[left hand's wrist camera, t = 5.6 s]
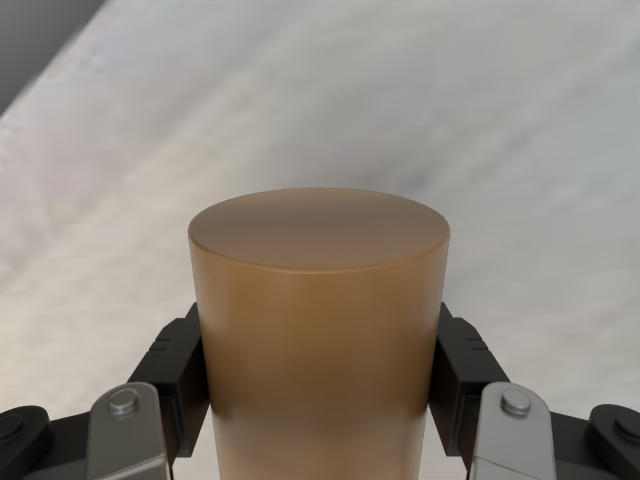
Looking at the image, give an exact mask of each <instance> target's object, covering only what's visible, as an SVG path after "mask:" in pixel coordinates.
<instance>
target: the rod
mask: <svg viewBox="0 0 640 480" xmlns="http://www.w3.org/2000/svg"><path fill="white" fill-rule="evenodd" d="M188 238H189V246H190V253H191V261H192V268H193V276H194V284H195V291H196V299H197V306H198V314H199V321H200V329H201V336H202V344H203V352H204V359H205V367H206V374H207V382H208V389H209V397H210V404H211V412H212V419H213V427H214V435H215V442H216V450H217V457H218V465H219V472H220V480H418V474H419V466H420V459H421V451H422V444H423V436H424V428H425V421H426V413H427V406H428V398H429V390H430V383H431V375H432V368H433V360H434V352H435V345H436V337H437V330H438V322H439V314H440V307H441V299H442V292H443V284H444V276H445V269H446V261H447V254H448V246H449V238H450V228H449V225H448V222H447V221H446V220H445V218H444V217H443V216H442V215H440V214H439V213H438V212H436V211H435V210H433V209H431V208H430V207H427V206H425V205H423V204H421V203H418V202H415V201H412V200H409V199H406V198H402V197H398V196H394V195H390V194H384V193H379V192H372V191H365V190H356V189H342V188H296V189H282V190H273V191H266V192H259V193H254V194H248V195H244V196H240V197H236V198H232V199H229V200H226V201H223V202H220V203H218V204H215V205H213V206H211V207H209V208H207V209H205V210H203V211H202V212H200V213H199V214H198V215H196V216H195V217H194V218H193V220H192V221H191V222H190V225H189V228H188Z"/></svg>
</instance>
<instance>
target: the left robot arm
mask: <svg viewBox="0 0 640 480" xmlns="http://www.w3.org/2000/svg"><path fill="white" fill-rule="evenodd" d="M209 405H210V397H209V389H208V382H207V374H206V367H205V359H204V352H203V344H202V336H201V329H200V321H199V314H198V306H197V302H195V303H194V304H193V305H192V307H191V309H190V310H189V312H188V314H187V315H186V317H185V318H176V319H175V320H173V321H172V322H171V323H169V324H168V325H166V326H165V327H164V328H163V329H162V330H161V332H160V333H159V335H158V336H157V338H156V339H155V342H153V344H152V345H151V347H150V348H149V351H147V353H146V354H145V356H144V357H143V359H142V360H141V362H140V363H139V365H138V366H137V368H136V369H135V371H134V372H133V374H132V375H131V377H130V378H129V380H128V381H127V383H126V384H123V385H120V386H117V387H115V388H113V389H111V390H109V391H108V392H106V393H105V394H103V395H102V396H101V397H100V398H99V399H98V400H97V401H96V402H95V403H94V405H93V406H92V408H91V410H90V411H88V412H86V413H82V414H78V415H74V416H70V417H65V418H61V419H57V420H53V421H50V419H49V416H48V413H47V411H46V410H45V409H44V408H42V407H39V406H22V407H17V408H14V409H10V410H8V411H5V412H3V413H0V480H175V479H174V473H173V468H172V466H173V463H174V461H175V458H176V457H191V455H192V453H193V450H194V447H195V444H196V441H197V439H198V436H199V433H200V430H201V427H202V424H203V422H204V419H205V416H206V413H207V410H208V407H209ZM428 405H429V407H430V410H431V413H432V416H433V419H434V422H435V425H436V428H437V430H438V433H439V436H440V439H441V442H442V445H443V448H444V451H445V453H446V456H461V457H462V459H463V462H464V465H465V467H466V470H467V473H466V479H465V480H640V413H639V412H637V411H634V410H632V409H629V408H626V407H623V406H618V405H612V404H603V405H598V406H596V407H595V408H593V409H592V411H591V414H590V417H589V420H584V419H580V418H575V417H571V416H567V415H563V414H558V413H555V412H551V411H550V410H549V408H548V406H547V405H546V403H545V402H544V401H543V400H542V399H541V398H540V397H539V396H538V395H537V394H535V393H534V392H532V391H531V390H529V389H527V388H525V387H523V386H520V385H517V384H514V383H511V382H510V380H509V379H508V377H507V376H506V374H505V373H504V371H503V370H502V368H501V367H500V365H499V364H498V362H497V361H496V359H495V357H494V356H493V354H492V353H491V351H489V350H488V347H487V345H486V344H485V342H484V341H482V338H481V336H480V335H479V333H478V332H477V330H476V329H475V327H473V326H472V325H471V324H469V323H468V322H467V321H465V320H464V319H463V318H453V317H452V315H451V313H450V312H449V310H448V308H447V307H446V305H445V303H444V302H441V307H440V314H439V322H438V330H437V337H436V345H435V352H434V360H433V368H432V375H431V383H430V390H429V398H428Z"/></svg>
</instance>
